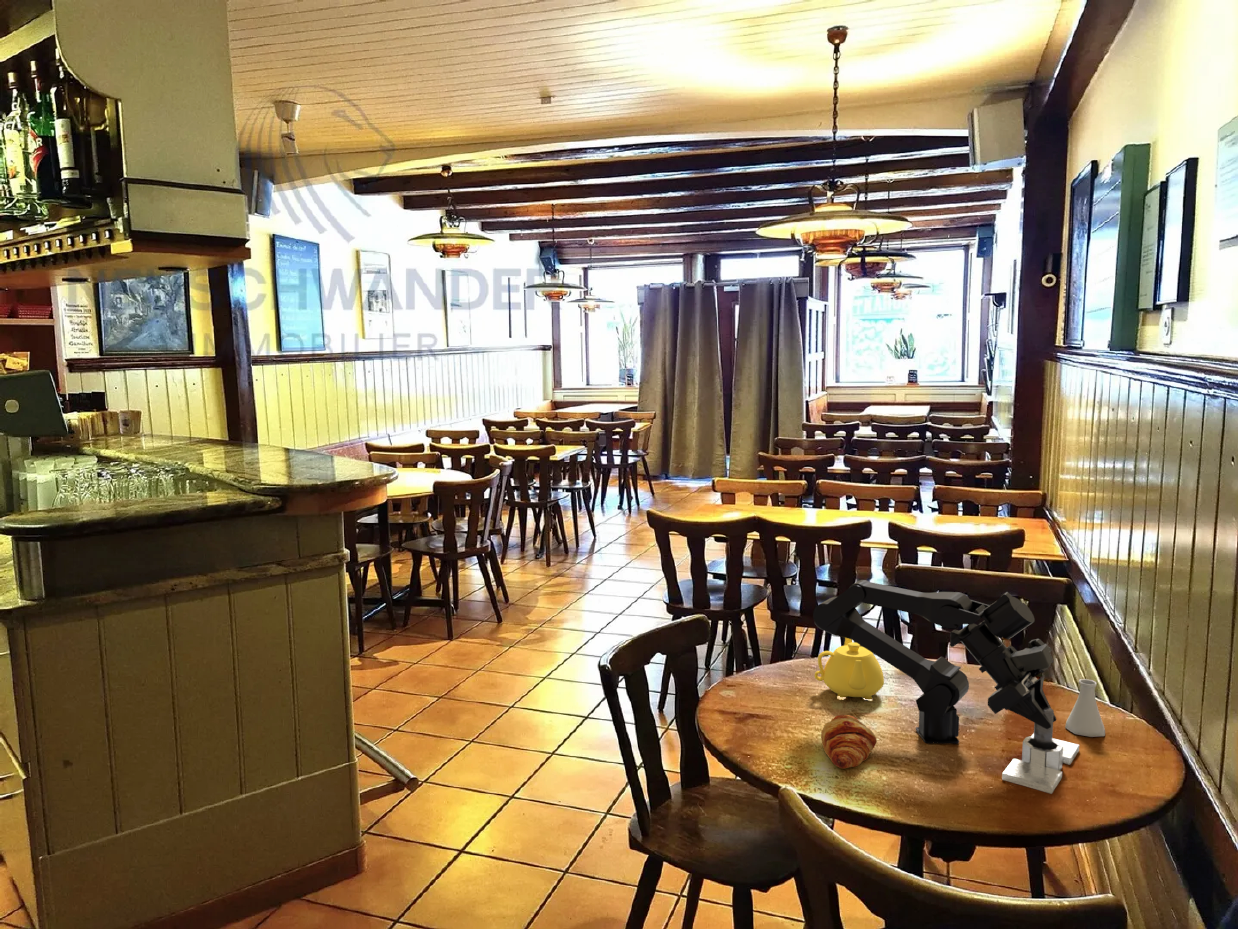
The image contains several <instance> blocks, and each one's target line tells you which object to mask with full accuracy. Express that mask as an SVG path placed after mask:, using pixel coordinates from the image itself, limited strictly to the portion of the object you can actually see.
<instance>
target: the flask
mask: <svg viewBox="0 0 1238 929" xmlns="http://www.w3.org/2000/svg"><path fill="white" fill-rule="evenodd" d="M1078 684H1079V686H1080V688H1079V693H1078V697H1077V699H1076V701H1075V703H1074V706H1073V707H1072V709H1071V712H1070V714H1069V715H1068V718H1067V719H1066V722H1065V726H1064V727H1065V729H1066V730H1068V731H1070V732H1071V733H1073V734H1074V735H1079V736H1083V737H1084V736H1085V737H1090V738H1093V737H1105V736H1106V729H1105V725H1104V722H1103V720H1102V717H1101V714H1100V711H1099V707H1098V704H1097V700H1096V695H1095V689H1096V688H1097V684H1098V683H1097V681H1095V680H1093V679H1087V678H1082V679H1081V678H1079V680H1078Z"/></svg>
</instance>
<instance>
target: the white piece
mask: <svg viewBox="0 0 1238 929" xmlns="http://www.w3.org/2000/svg"><path fill="white" fill-rule="evenodd" d="M1033 741H1034V732H1033V733H1032V735H1031V736H1026V737H1025V738H1024V739H1023V741H1022V752H1021V759H1018V758H1012V760H1011V762H1010V763H1009V764H1008V765H1007V767H1005V769H1004V770H1003V772H1002V774H1001V780H1002V781H1006V782H1009V783H1011V784H1012V783H1013V784H1016V785H1020V786H1023V787H1027V788H1031V789H1034V790H1037V791H1040V792H1044V793H1047V794H1051V795H1052V794H1053V793H1054V791H1055V789H1056V788H1057V787H1058V785H1059V783H1060V781H1061V780H1062V778H1063V771H1061V770H1062V768H1063V764H1066V765H1070V766H1071V764H1072V763H1073V761H1074V759H1075V758H1076V756H1077V755H1078V753H1079V752H1080V744H1078V743H1073V742H1069V741H1066V740H1061V739H1057V738H1053V737H1052V749H1051V750H1044V749H1040V748H1036V747H1033Z"/></svg>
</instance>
